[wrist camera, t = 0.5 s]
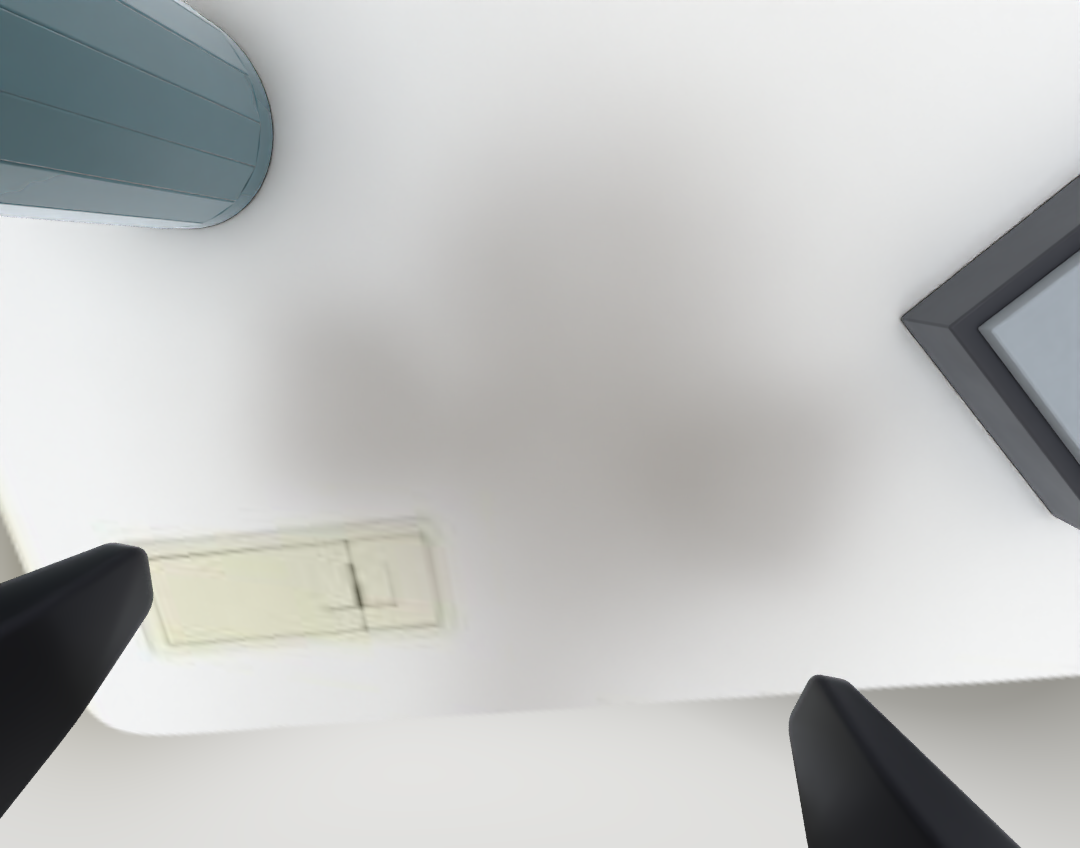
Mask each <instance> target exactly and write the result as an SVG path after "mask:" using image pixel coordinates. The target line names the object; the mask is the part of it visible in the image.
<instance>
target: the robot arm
mask: <svg viewBox="0 0 1080 848" xmlns="http://www.w3.org/2000/svg"><path fill="white" fill-rule="evenodd" d="M152 602H153V588H152V581H151V575H150V568H149V562H148V556H147V554H146V552H145V551H144V550H143V549H141V548H140V547H135V546H130V545H125V544H119V543H108V544H104V545H102V546H99V547H96V548H94V549H91V550H88V551H86V552H83V553H80V554H78V555H75V556H72V557H70V558H67V559H64V560H62V561H59V562H56V563H54V564H51V565H48V566H46V567H43V568H40V569H38V570H35V571H32V572H30V573H27V574H24V575H22V576H19V577H16V578H14V579H11V580H8V581H6V582H3V583H0V818H1V817H2V816H3V814H4V813H5V812H6V810H7V809H8V808H9V807H10V806H11V804H12V803H13V802H14V800H15V799H16V798H17V797H18V795H19V794H20V793H21V792H22V790H23V789H24V788H25V786H26V785H27V784H28V783H29V782H30V780H31V779H32V778H33V776H34V775H35V774H36V773H37V772H38V770H39V769H40V768H41V766H42V765H43V764H44V763H45V761H46V760H47V759H48V758H49V756H50V755H51V754H52V752H53V751H54V750H55V749H56V748H57V746H58V745H59V744H60V742H61V741H62V740H63V739H64V737H65V736H66V735H67V733H68V732H69V731H70V729H71V728H72V727H73V725H74V724H75V723H76V721H77V720H78V718H79V717H80V716H81V714H82V713H83V711H84V710H85V708H86V707H87V706H88V704H89V703H90V701H91V700H92V698H93V697H94V695H95V693H96V692H97V690H98V689H99V687H100V686H101V684H102V683H103V681H104V680H105V678H106V677H107V675H108V674H109V672H110V671H111V669H112V668H113V666H114V665H115V663H116V661H117V660H118V658H119V657H120V655H121V654H122V652H123V651H124V649H125V648H126V646H127V645H128V643H129V642H130V640H131V639H132V637H133V636H134V634H135V632H136V631H137V629H138V628H139V626H140V625H141V623H142V622H143V620H144V619H145V617H146V616H147V614H148V612H149V610H150V608H151V605H152ZM789 736H790V742H791V748H792V754H793V760H794V766H795V772H796V778H797V784H798V789H799V796H800V802H801V808H802V814H803V820H804V826H805V831H806V838H807V843H808V848H1021V847H1020V846H1019V845H1017V843H1015V842H1014V841H1013V840H1012V839H1011V838H1010V837H1009V836H1008V835H1007V834H1006V833H1005V832H1004V831H1003V830H1002V829H1001V828H1000V827H999V826H998V825H997V824H996V823H995V822H994V821H993V820H992V819H991V818H990V817H989V816H987V815H986V814H985V813H984V812H983V811H982V810H981V809H980V808H979V807H978V806H977V805H976V804H975V803H974V802H973V801H972V800H971V799H970V798H969V797H968V796H967V795H966V794H964V792H963V791H962V790H960V789H959V788H958V787H957V786H956V785H955V784H954V783H953V782H952V781H951V780H950V779H949V778H948V777H947V776H946V775H945V774H944V773H943V772H942V771H941V770H940V769H939V768H938V767H937V766H936V765H935V764H934V763H932V762H931V761H930V760H929V759H928V758H927V757H926V756H925V755H924V754H923V753H922V752H921V751H920V750H919V749H918V748H917V747H916V746H915V745H914V744H913V743H912V742H911V741H910V740H909V739H908V738H907V737H906V736H904V735H903V734H902V733H901V732H900V731H899V730H898V729H897V728H896V727H895V726H894V725H893V724H892V723H891V722H890V721H889V720H888V719H887V718H886V717H885V716H884V715H882V713H880V711H878V710H877V709H876V708H875V707H874V706H873V705H872V704H871V703H870V702H869V701H868V700H867V699H866V698H865V697H864V696H863V695H862V694H861V693H860V692H859V691H858V690H857V689H856V688H855V687H854V686H853V685H851V684H850V683H849V682H847V681H846V680H843V679H840V678H834V677H829V676H824V675H815V676H813V677H811V678H810V679H809V681H808V683H807V685H806V686H805V688H804V690H803V692H802V694H801V696H800V698H799V700H798V701H797V703H796V705H795V707H794V709H793V711H792V713H791V716H790V720H789Z"/></svg>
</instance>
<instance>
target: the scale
mask: <svg viewBox="0 0 1080 848" xmlns="http://www.w3.org/2000/svg"><path fill="white" fill-rule="evenodd" d="M901 320H902V321H903V323H904V324H905V325H906V327H907V328H908V329H909V330H910V332H911V333H912V334H913V336H914V337H915V338H916V339H917V341H918V342H919V343H920V345H921V346H922V347H923V348H924V350H925V351H926V352H927V354H928V355H929V356H930V357H931V359H932V360H933V361H934V363H935V364H936V365H937V366H938V368H939V369H940V370H941V372H942V373H943V374H944V375H945V377H946V378H947V379H948V381H949V382H950V383H951V384H952V386H953V387H954V388H955V390H956V391H957V392H958V393H959V395H960V396H961V397H962V399H963V400H964V401H965V402H966V404H967V405H968V406H969V408H970V409H971V410H972V411H973V413H974V414H975V415H976V417H977V418H978V419H979V420H980V422H981V423H982V424H983V426H984V427H985V428H986V429H987V431H988V432H989V433H990V435H991V436H992V437H993V438H994V440H995V441H996V442H997V443H998V445H999V446H1000V447H1001V449H1002V450H1003V451H1004V452H1005V454H1006V455H1007V456H1008V458H1009V459H1010V460H1011V461H1012V463H1013V464H1014V465H1015V467H1016V468H1017V469H1018V470H1019V472H1020V473H1021V474H1022V476H1023V477H1024V478H1025V479H1026V481H1027V482H1028V483H1029V485H1030V486H1031V487H1032V488H1033V490H1034V491H1035V492H1036V494H1037V495H1038V496H1039V497H1040V499H1041V500H1042V501H1043V503H1044V504H1045V505H1046V506H1047V508H1048V509H1049V510H1050V512H1051V513H1052V514H1053V515H1054V516H1055V517H1057V518H1059V519H1061V520H1062V521H1064V522H1066V523H1068V524H1070V525H1072V526H1074V527H1076V528H1078V529H1080V176H1079V177H1077V178H1076V179H1075V180H1074V181H1072V182H1071V183H1070V184H1069V185H1067V186H1066V187H1065V188H1064V189H1062V190H1061V191H1060V192H1059V193H1057V194H1056V195H1055V196H1054V197H1052V198H1051V199H1050V200H1049V201H1047V202H1046V203H1045V204H1044V205H1042V206H1041V207H1040V208H1038V209H1037V210H1036V211H1035V212H1033V213H1032V214H1031V215H1030V216H1028V217H1027V218H1026V219H1025V220H1023V221H1022V222H1021V223H1020V224H1018V225H1017V226H1016V227H1015V228H1013V229H1012V230H1011V231H1010V232H1008V233H1007V234H1006V235H1005V236H1003V237H1002V238H1001V239H1000V240H998V241H997V242H996V243H995V244H993V245H992V246H991V247H990V248H988V249H987V250H986V251H985V252H983V253H982V254H981V255H979V256H978V257H977V258H976V259H974V260H973V261H972V262H971V263H969V264H968V265H967V266H966V267H964V268H963V269H962V270H961V271H959V272H958V273H957V274H956V275H954V276H953V277H952V278H951V279H949V280H948V281H947V282H946V283H944V284H943V285H942V286H941V287H939V288H938V289H937V290H936V291H934V292H933V293H932V294H931V295H929V296H928V297H927V298H925V299H924V300H923V301H922V302H920V303H919V304H918V305H917V306H915V307H914V308H913V309H912V310H910V311H909V312H908V313H907V314H905V315H904V316H903V317H902V318H901Z"/></svg>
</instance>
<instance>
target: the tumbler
mask: <svg viewBox="0 0 1080 848" xmlns="http://www.w3.org/2000/svg"><path fill="white" fill-rule="evenodd" d="M272 143H273V129H272V118H271V113H270V107H269V103H268V100H267V97H266V93H265V90H264V88H263V85H262V83H261V81H260V78H259V76H258V74H257V73H256V71H255V69H254V67H253V65H252V64H251V62H250V61H249V59H248V58H247V56H246V55H245V54H244V52H243V51H242V50H241V48H240V47H239V46H238V45H237V44H236V43H235V42H234V41H233V39H232V38H230V37H229V36H228V35H227V34H226V33H225V32H224V31H223V30H222V29H220V28H219V27H217V26H216V25H215V24H213V23H212V22H210V21H209V20H207V19H206V18H204V17H203V16H201V15H200V14H199V13H197V12H196V11H195V10H194V9H192V8H191V7H190V6H189V5H187V4H186V3H185V2H183V1H182V0H0V216H7V217H20V218H32V219H45V220H58V221H71V222H84V223H97V224H110V225H123V226H136V227H149V228H162V229H171V228H186V229H193V228H204V227H208V226H213V225H216V224H218V223H221V222H223V221H226V220H227V219H229V218H231V217H233V216H234V215H236V214H237V213H238V212H239V211H241V210H242V209H243V208H244V207H245V206H246V205H247V204H248V203H249V202H250V201H251V200H252V199H253V197H254V196H255V194H256V193H257V191H258V190H259V188H260V186H261V184H262V182H263V180H264V178H265V176H266V173H267V170H268V167H269V164H270V158H271V153H272Z"/></svg>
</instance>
